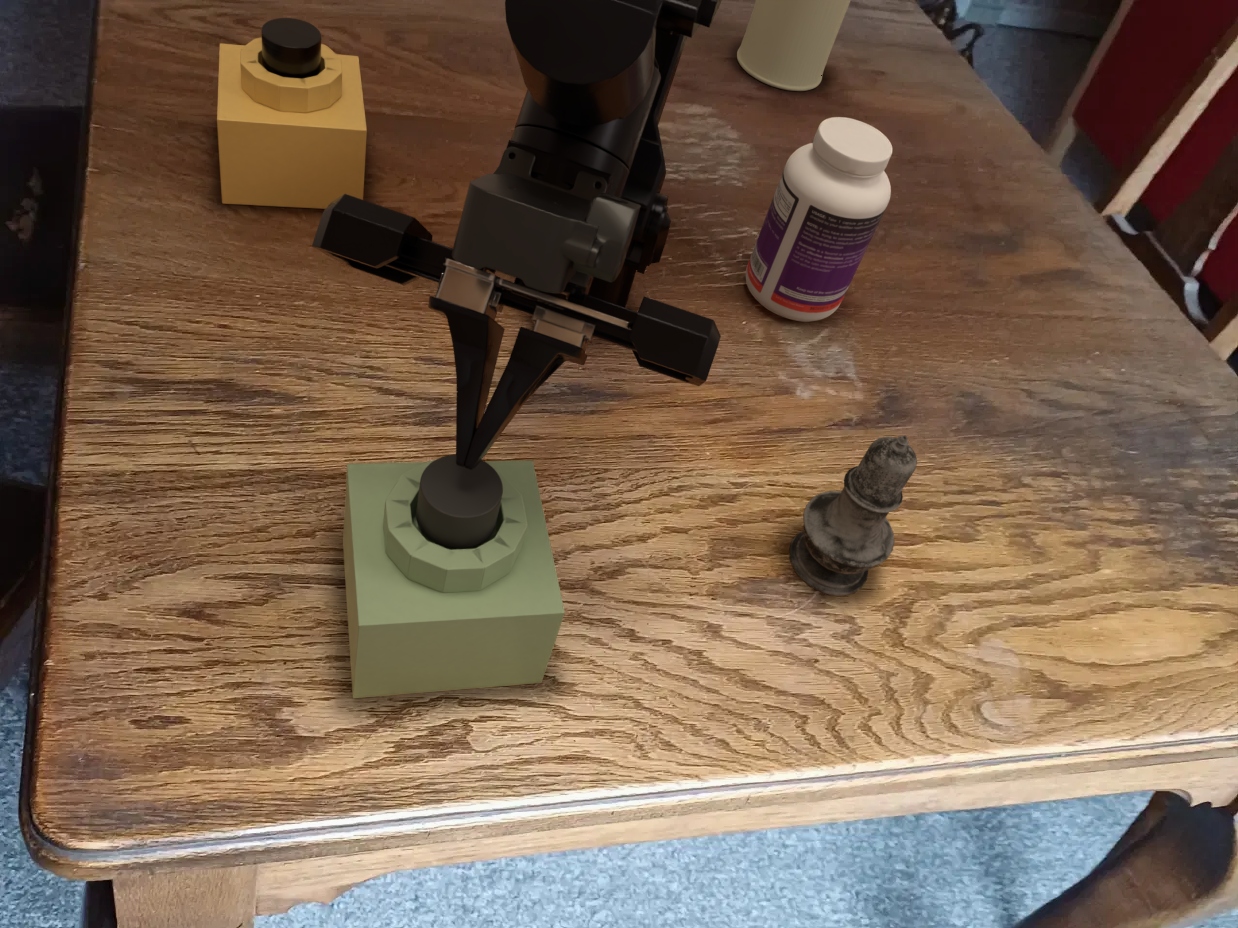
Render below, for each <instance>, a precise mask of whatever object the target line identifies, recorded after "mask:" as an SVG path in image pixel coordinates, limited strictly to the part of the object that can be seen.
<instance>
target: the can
mask: <svg viewBox="0 0 1238 928" xmlns="http://www.w3.org/2000/svg"><path fill="white" fill-rule="evenodd" d="M851 1H852V0H755V2H754V5H753V8H752V12H751V15H750V17H749V21H748V23H747V26H746V30H745V33H744V35H743V38H742V40H741V44H740V46H739V48H738V49H737V52H736V59H737V62H738V64H739V66H740V67H741V68H742V69H743V70H744V71H745V72H746V73H747V74H748V75H750V76H751V77H752V78H754V79H755V80H757V81H759V82H761V83H763V84H766V85H768V86H771V87H772V88H777V89H781V90H783V91H784V90H785V91H789V92H805V91H810V90H813V89H815V88H817V87H818V86H819V85H821V82H822V80H823V74H824V71H825V68H826V66H827V62H828V59H829V58H830V54H831V52H832V49H833V47H834V45H835V41H836V39H837V37H838V34H839V31H840V28H841V26H842V24H843V21H844V19H845V16H846V14H847V11H848V8H849V6H850V4H851ZM821 75H822V76H821Z"/></svg>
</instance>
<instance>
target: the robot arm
mask: <svg viewBox="0 0 1238 928" xmlns="http://www.w3.org/2000/svg"><path fill="white" fill-rule="evenodd" d="M722 1H723V0H505V1H504V11H505V22H506V26H507V29H508V32H509V37H510V40H511V42H512V45H513V49H514V52H515V56H516V59H517V62H518V66H519V70H520V72H521V77H522V79H523V82H524V85H525V88H526V92H525V95H524V98H523V101H522V104H521V107H520V110H519V113H518V116H517V119H516V122H515V125H514V129H513V131H512V134H511V136H510V139H508V142H507V145H506V147H505V150H504V151H503V153H502V156H501V158H500V161H499V165H498V167H497V168H496V169H495V170H494V171H493V173H487V174H484V175H482V176H480V177H478V178H475V179H472V180H470V181H469V183H468V188H467V192H466V195H465V200H464V203H463V208H462V211H461V215H460V220H459V223H458V227H457V231H456V235H455V238H454V243H453V247H451V246H446V245H443V244H441V243H439V242H435V241H433V234H432V233H431V232H430V231H429V230H428V229H427V227H425V226H424V225H423V224H422V223H421V222H420V221H419V220H418V219H417V218H416V217H414V216H411V215H409V214H405V213H402V212H400V211H396V210H395V209H391V208H388V207H385V206H383V205H379V204H376V203H373V202H370V201H367V200H364V199H363V200H362V199H359V198H356V197H353V196H350V195H347V194H344V195H342V196H340V197H339V198H337V199H336V200H334V201H333V202H331V203H330V204H329V205H328V207H327V208H326V209H323V212H322V213H321V217H320V220H319V223H318V226H317V228H316V232H315V235H314V238H313V241H312V244H311V247H313V248H314V249H316V250H318V251H319V252H321V253H322V254H325V255H326V256H328V257H330V258H331V259H333V260H335V261H337V262H338V263H340V264H341V265H344V266H346V267H349V268H351V269H354V270H356V271H360V272H363V273H366V274H369V275H372V276H375V277H376V278H380V279H383V280H386V281H388V282H392V283H394V284H397V285H400V286H403V287H405V286H407V285H408V284H410V283H411V284H412V283H413V282H414V281H416V280H419V279H423V280H426V281H429V282H431V283H435V284H436V285H437V288H436V289H437V290H436V292H435V296H433V295H430V296H428V305H427V307H428V309H430V310H432V312H435V313H436V314H438V315H440V316H441V317H443V318H444V319H446V320H447V324H448V325H447V326H448V329H449V333H450V338H451V343H452V349H453V358H454V366H455V376H456V377H455V379H456V380H455V381H456V383H455V384H456V391H455V392H456V395H455V398H456V401H455V402H456V407H455V409H456V411H455V412H456V413H455V414H456V415H455V454H456V464H457V465H458V466H461V467H465V468H467V469H470V470H472V469H475V467H476V466H477V465H478V464H479V462H480V461H481V460H483V459H484V457H485V456H486V455H487V454H488V452H489V450H490V449H491V448H492V446H493V445H495V443H496V441H497V440H498V438H499V437H500V436H501V435H502V433H503V432H504V431H505V429H506V428H507V427H508V425H510V423H511V422H512V420H513V419H514V418H515V416H516V415H517V414H518V412H519V411H520V410H521V409H522V407H523V406H524V405H525V404H526V402H527V401H528V400H529V399H530V398H531V396H533V394H534V393H535V392H536V391H537V390H539V388H541V386H542V385H543V384H544V383H546V381H547V380H549V378H550V377H552V375H553V374H554V373H555V372H556V371H557V370H558V369H559V368H560V367H561V366H562V365H563V364H564V363H567V362H570V363H573V364H577V365H579V366H585V364H586V362H587V359H588V355H587V354H586V351H587V349H588V345H589V344H592V345H593V343H594V339H595V338H596V339H598V340H601V341H604V342H606V343H610V344H612V345H616V346H618V347H621V348H624V349H627V350H630V351H631V352H632V354H633V356H634V358H635V360H636V362H637V364H638V367H640V368H643V369H645V370H649V371H651V372H654V373H657V374H660V375H663V376H666V377H669V378H672V379H675V380H678V381H680V382H684V383H687V384H690V385H693V386H696V387H700V386H702V385H703V384H704V383H706V382H707V380H708V377H709V374H710V370H711V368H712V365H713V362H714V360H715V358H716V357H715V356H716V354H717V350H718V348H719V344H720V342H721V337H722V335H721V333H720V330H719V329H718V326H717V324H716V321H715V320H714V319H712V318H709V317H707V316H704V315H701V314H698V313H694V312H692V311H688V310H687V309H683V308H680V307H677V306H674V305H672V304H669V303H665V302H662V301H660V300H656V299H654V298H651V297H648V296H645V295H643V297H642V300H641V302H640V304H639V308H638V310H637V311H636V310H633V309H630V308H628V307H627V304H628V301H629V297H630V293H631V291H632V287H633V284H634V280H635V277H636V273H638V274H642V275H645V273H646V269H647V267H650V266H651V265H653V264H658V263H660V262H661V260H662V255H663V253H664V251H665V246H666V243H667V241H668V240H667V239H668V237H669V232H670V228H671V225H672V220H671V217H670V215H669V213H668V211H669V206H668V202H669V195H667V194H664V193H661V192H662V188H663V185H664V183H665V179H666V176H667V166H666V161H665V155H664V150H663V144H662V139H661V134H660V128H659V125H660V121H661V118H662V116H663V111H664V109H665V107H666V106H665V105H666V103H667V100H668V97H669V93H670V90H671V87H672V84H673V82H674V78H675V75H676V72H677V70H678V67H679V63H680V60H681V58H682V55H683V52H684V49H685V45H686V42H687V39H688V38H690V39H693V37H694V35H695V34H696V32H697V30H698V29H699V26H703V27H705V28H708V29H709V28H711V25H712V23H713V21H714V19H715V16H716V15H717V12H718V11H719V8H720V5H721V4H722ZM496 272H498V273H500V274H503V275H506V276H509V277H512V278H514V281H510V280H507V279H505V278H502V277H500V276H497V275H496ZM504 308H507V309H510V310H514V311H516V312H519V313H522V314H525V315H528V316H531V322H532V323H533V324H534V325H533V328H532V329H529V328H526V327H523V326H520V327H519V330H518V333H517V335H516V338H515V341H514V344H513V347H512V349H511V353H510V355H509V359H508V361H507V364H506V366H505V368H504V370H503V372H502V374H501V376H500V378H499V380H498V383H497V385H496V387H495V389H494V390H493V394H492V395H491V398H490V400H489V402H488V398H489V394H490V390H491V387H492V383H493V378H494V374H495V371H496V366H497V362H498V358H499V354H500V350H501V346H502V341H503V339H504V338H503V337H504V334H505V330H506V329H505V327H503V326H502V325H501V324H500V323H498V322H497V321H496V318H497V314H498V313H500V314H502V312H503V310H504ZM487 403H488V404H487Z"/></svg>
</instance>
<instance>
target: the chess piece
mask: <svg viewBox="0 0 1238 928" xmlns="http://www.w3.org/2000/svg"><path fill="white" fill-rule="evenodd" d="M917 464H918V458H917V455H916V452H915V450H914V449H913V447H912V446H911V445H910V443H909V439H908V436H907V435H901V436H898V437H894V436H884V437H879V438H877V439H875V440H874V441H873V442H872V443H871V444H870V445H869V447H868V448H867V450H866V451H865V453H864V455H863V457H862V458H861V460H860V462H859V464H858V465H857V466H853V467H851V468H849V469H848V470H847V472H846V473H845V475H844V478H843V488H842V490H827V491H824V492H820V493H817V494H816V495H815V496H813V497H811V498H810V500H809V501H808V502H807V504H806V505H805V507H804V510H803V514H802V517H803V519H802V520H803V529H802V530H801V531H799V532H798V533H796V535H795V536H794V537H793V538H792V539H791V542H790V545H789V548H788V553H789V554H788V555H789V557H788V558H789V560H790V564H791V567H792V568H793V570H794V572H795V573H796V574H797V576H798V577H799V578H800V579H801V580H802V581H803V582H804V583H805V584H806V585H808V586H810V587H811V588H812V589H814V590H816V591H818V592H821V593H822V594H824V595H830V596H835V597H841V596H848V595H849V596H850V595H852V594H855V593H856V592H858V591H859V590H861V589H862V588H863V586H864V585H865V584H866V582H867V581H868V576H869V570H871V569H873V568H874V567H876V566H879V565H881V564H882V563H884V562H885V561H887V560H888V559H889V557H890V555H891V554H892V553H893V551H894V546H895V536H894V531H893V527H892V526H891V524H890V521H889V520H888V519H887V516H888V515H889V513H892V512H895V510H898V509H899V508H900V506H901V505H902V503H903V498H904V496H903V490H904V488H905V486H906V485H907V483H908V482H909V480H910V478H911V477H912V475H913V474H914V473H915V471H916V469H917Z"/></svg>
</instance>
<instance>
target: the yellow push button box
mask: <svg viewBox="0 0 1238 928" xmlns="http://www.w3.org/2000/svg"><path fill="white" fill-rule="evenodd" d="M218 52H219V54H218V80H217V82H218V83H217V108H216V125H217V126H216V127H217V143H218V157H219V158H218V159H219V160H218V161H219V175H220V176H219V177H220V191H221V203H222V204H223V205H245V206H262V207H263V206H264V207H279V208H280V207H283V208H302V209H321V210H325V209H326V208H327V207H328V205H329V204H330V203H331V202H333V201H334V200H336V199H337V198H339V197H340V196H342V195H344V194H347V195H350V196H353V197H356V198H359V199H362V200H364V189H365V173H366V172H365V170H366V154H367V134H368V128H367V120H366V112H365V102H364V95H363V94H364V93H363V87H362V85H363V84H362V76H361V75H362V74H361V67H360V58H359V55H350V54H349V55H348V54H339V53H336V52H334V51H333V50H332V49H331V48H330V47H329V46H328V45H326V44H324V43H321V70H320V73H319V74H318V75H317V76H312V77H308V78H303V79H299V78H288V77H281V76H279V75H276V74H273V73H271V72H268V71H267V70H266V69H265V68H264V67H263V64H262V36H261V37H257V38H253V39H252V40H250V41H249V42H248V43H247V44H245V45H243V44H241V45H240V44H231V43H219V51H218Z"/></svg>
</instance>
